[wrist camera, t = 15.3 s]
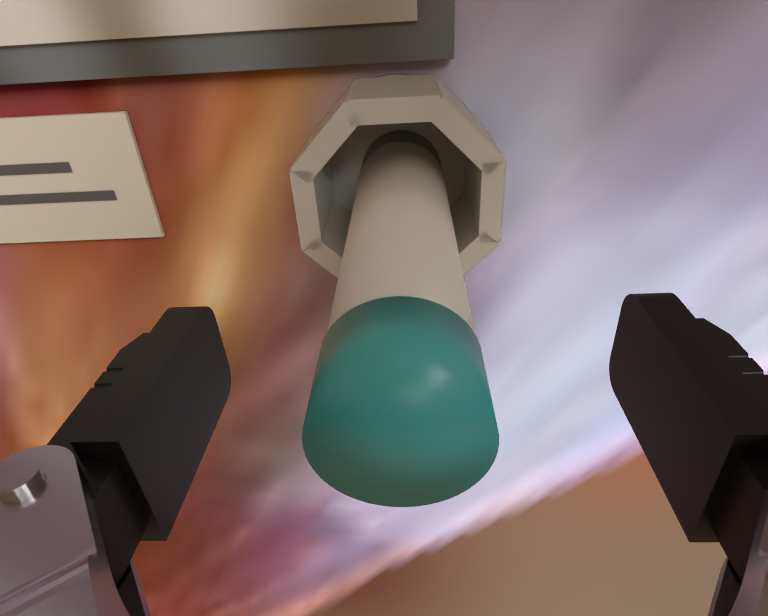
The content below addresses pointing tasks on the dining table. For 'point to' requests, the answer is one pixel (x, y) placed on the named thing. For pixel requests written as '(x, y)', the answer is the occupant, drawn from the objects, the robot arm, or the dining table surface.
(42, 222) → the word card
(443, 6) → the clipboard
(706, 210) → the dining table surface
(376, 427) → the marker
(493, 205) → the pen cup
